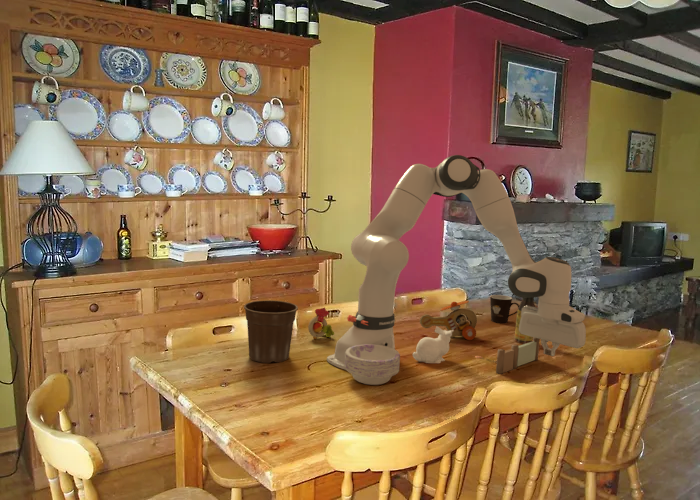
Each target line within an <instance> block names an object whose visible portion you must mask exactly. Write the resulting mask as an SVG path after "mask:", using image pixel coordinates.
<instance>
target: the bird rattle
mask: <svg viewBox="0 0 700 500" xmlns="http://www.w3.org/2000/svg"><path fill="white" fill-rule="evenodd" d="M314 313H315V314H316V316H313V317H312V318H311V319H310V320H309V323H308V326H307V327H308V332H309V334H310V335H311V336H312V337H313V339H314V340H317V339H318V338H321V337H322V336H324V335H325V337H326V338H327V337H330V338H331V336H335V331H333V329H332V325H331V324H328V322H327V320H326V318H325V317H327V316H329V314H330V312H329V311H328V310H327V308H326V307H321V308H316V309H315V310H314Z"/></svg>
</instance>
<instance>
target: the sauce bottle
mask: <svg viewBox="0 0 700 500" xmlns="http://www.w3.org/2000/svg"><path fill="white" fill-rule="evenodd" d="M534 298H535V297H531V298H521V299H522V300H521V301H520V304H519V308H518V307H517V310H516V311H517V313H516V319H515V329H514V330H515V331H514V342H515V343H517V344H521V345H523V344H526V343H529V342H532V341H533V337H531V336H527V335H523V334H521V333H520V331H519V325H520V320H521V317H522V316H521V311H522V308H523V307H525V306H527V305H528V306H532V307H536V305H535V303H534V301H535V299H534Z"/></svg>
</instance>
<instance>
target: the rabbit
mask: <svg viewBox="0 0 700 500" xmlns="http://www.w3.org/2000/svg"><path fill="white" fill-rule="evenodd" d="M453 331H454V330H450V331H448V330H447V329H444V330H443V328H441V327H440V326H435V329H434V333H436V334H439V335H438V336H437V337H436V338H433V337H430V336H425V337H423V338H421V339H420V340H419V341H418V342H417V344H416V348H415V351H413V353H412V357H413V359H414V360H415V361H417V362H420V363H425V364H441V363H442V362H445V361H446V359H444V358H443V356H445V355H446V354H448V352H449V351H450V341H451V337H450V336H452V332H453Z"/></svg>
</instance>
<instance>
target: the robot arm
mask: <svg viewBox="0 0 700 500" xmlns="http://www.w3.org/2000/svg"><path fill="white" fill-rule="evenodd" d="M461 193H462V194H463V195H465V196H466V197H467V198H468V199H469V200H470V202H471V204H472V207H473V209H474V212H475V214H476V217H477V218H478V220H479V222H480V223H481V226H482V227H483V229H485V230H486V231H487V232H489V233H491V234H492V235H493V236H495V237H496V238H497V239H498V240H499V241H500V243H501V245H502V246H503V249H504V251H505V252H506V255H507V257H508V259H509V261H510V264H511V268H512V271H511V273H510V274H509V276H508V279H507V287H508V289H509V290H510V292H511V293H512V295H514V296H515V297H518V298H521V299H522V298H531V297H534V298H538V304H537V307H536V306H535V307H532V306H528V305H527V306H525V307H523V308H522V311H521V316H522V317H521V320H520V325H519V331H520V333H521V334H523V335H527V336H531V337H535V338H539V339H540V344H541V346H542V349H543V355H546V356H549V357H550V356H551V357H554V356H555V355H556V350H557V349H558V348H559V347H560V345H563V346H566V347H570V348H574V349H580V348H582V347H584V346H585V345H586V337H587V336H586V335H587V331H586V330H587V329H586V325H585V323H584V320H585V318H586V315H585V314H584V313H583V312H581V311H579V310H577V309H575V308H573V307H572V306H570V297H569V295H570V292H571V289H572V267H571V265H570V264H569V262H568V261H566V260H564V259H562V258H559V257H553V256H546V257H545V258H543V259H541V260H539V261H535V260H534V259H533V258H532V256H531V255H530V253H529V251H528V248H527V246H526V244H525V241H524V240H523V238H522V235H521V233H520V230H519V226H518V224H517V223H518V222H517V219H516V214H515V211H514V208H513V207H514V206H513V205H512V201H511V199H510V197H509V195H508V192H507V190H506V188H505V186H504V184H503V182H502V181H501V180H500V178H499V176H498V175H497V174H496V173H495V171H494V170H492V169H488V168H485V169H480V168H479V167H478V166H477V165H476V164H474V163H473V162H472V160H470V158H467V156H465V155H461V154H453V155H451V156H450V155H449V156H448V157H446V158H445V159H443V161H442V162H440V163H439V164H438V165H437V166H435V167H430V166H427V165H426V164H422V163H415V164H414V163H413V164H412V165H411V166H410V167H409V168H408V169H406V171H405V172H404V174H403V175H402V176H401V177H400V179H399V180H398V182H397V184H396V185H395V186H394V188H393V189H392V191H391V193H390V195H389V196H388V199H387V200H386V202H385V203H384V205H383V207H382V208H381V210H380V211H379V212H378V214H377V215H376V216H375V218H373V220H372V221H371V222H370V223H369V224H368V225H367V226H366V227H365V229H364V230H362V232H360V233H359V234H357V235H356V236H355V237H354V238H353V239H352V242H351V245H350V251H351V254H352V255H353V257H354V258H355V260H356V261H357V262H358V263H360V264H361V265H362V266H366V271H365V276H364V279H363V281H362V284H360V285H359V288H358V299H357V300H358V303H357V304H358V305H357V306H358V307H357V312H356V313H355V315H352V314H348V316H347V317H346V320H347V322H350V323H352V326H351V327H350V328H349V329H348V330H346V332H345V333H344V334H342V336H341V337H340V338H339V339H338V340H337V341H336V344H335V351H334V354H330V355H328V356H327V357H326V361H327V363H329V364H331V365H332V366H334V367H336V368H339V369H342V370H345V371H347V370H346V369H345V352H346V350H347V349H348V348H350V347H352V346H356V345H365V344H373V345H382V346H387V347H390V348H393V349H395V350H396V347H395V346H396V345H395V344H396V343H395V336H394V335H395V334H394V326H395V321H396V319H395V318H396V317H395V313H394V309H395V308H394V307H395V294H396V289H397V288H396V287H397V283H398V280H399V277H400V274H401V273H402V271H403V270H404V268H406V266H407V265H408V262H409V258H410V254H409V253H410V252H409V249H408V247H407V246H406V244H404V243H403V242H402V241H400V239H401V238H402V237H403V235H405V234H406V233H407V232H409V231H411V230H412V229H413V228H414V226H415V225H416V223H417V221H418V219H419V218H420V216H421V214H422V213H423V211H424V209H425V207H426V205H427V204H428V202H429V200H430V199H431V197H432V196H433V195H436V196H440V197H444V198H451V197H455V196H457V195H458V194H461ZM549 342H551V346H552V347H551V348H550V347H549V345H548V343H549Z"/></svg>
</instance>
